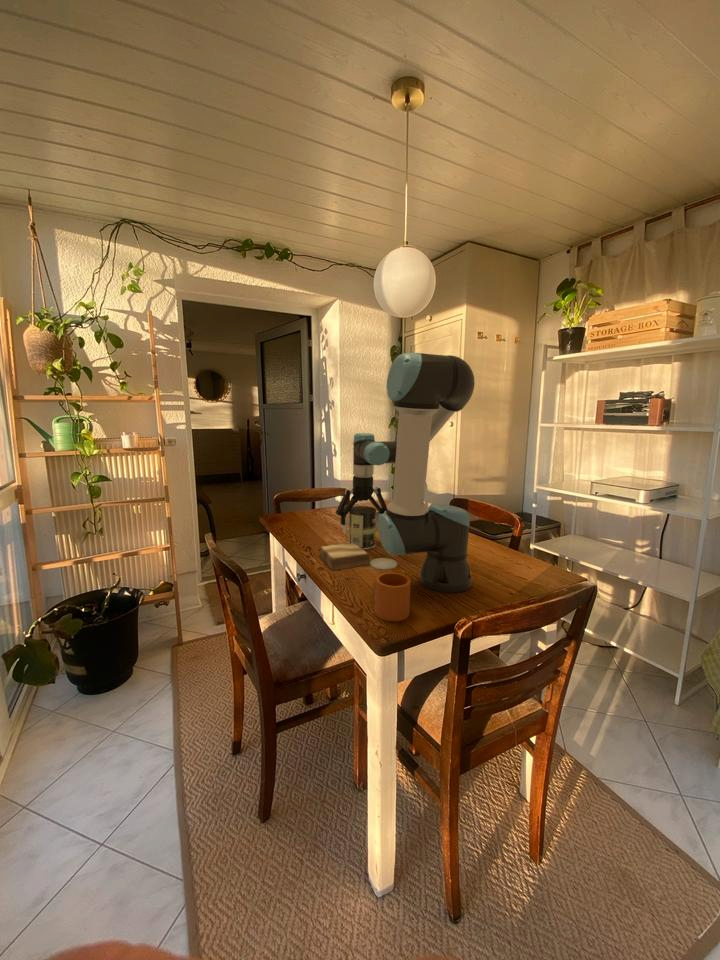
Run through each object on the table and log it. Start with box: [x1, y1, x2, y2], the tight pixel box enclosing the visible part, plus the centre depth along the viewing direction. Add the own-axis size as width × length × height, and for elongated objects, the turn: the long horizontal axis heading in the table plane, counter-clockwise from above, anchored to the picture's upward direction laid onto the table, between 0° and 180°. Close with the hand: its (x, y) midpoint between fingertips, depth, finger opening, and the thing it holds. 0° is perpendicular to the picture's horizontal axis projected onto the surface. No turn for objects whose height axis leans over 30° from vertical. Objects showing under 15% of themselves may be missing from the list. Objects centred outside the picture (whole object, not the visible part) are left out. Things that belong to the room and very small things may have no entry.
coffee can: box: [348, 505, 377, 551], centre depth 149 cm, size 10×10×14 cm
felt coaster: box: [369, 557, 398, 571], centre depth 132 cm, size 9×9×1 cm
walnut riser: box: [319, 542, 371, 571], centre depth 135 cm, size 13×13×4 cm
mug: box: [373, 571, 412, 622], centre depth 102 cm, size 9×12×9 cm
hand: (361, 531), depth 150 cm, fingers open, 13 cm apart
